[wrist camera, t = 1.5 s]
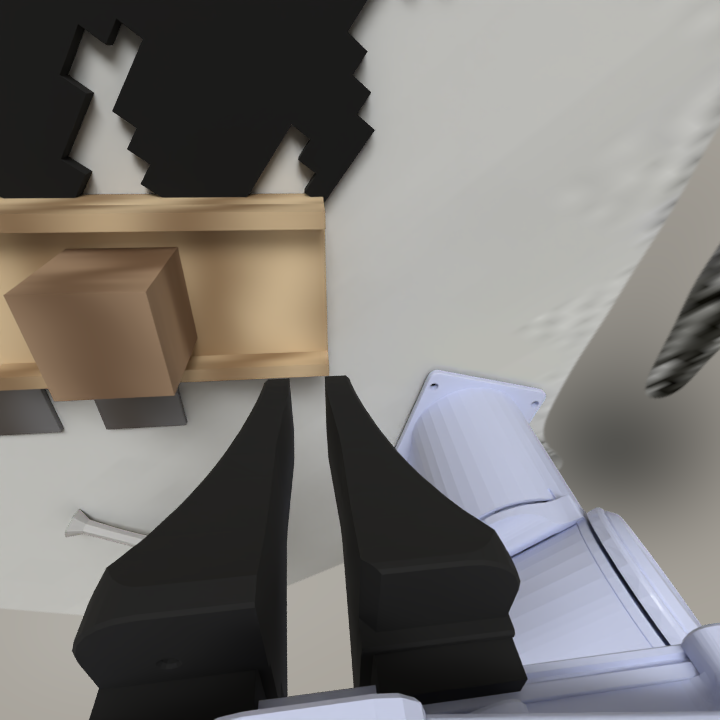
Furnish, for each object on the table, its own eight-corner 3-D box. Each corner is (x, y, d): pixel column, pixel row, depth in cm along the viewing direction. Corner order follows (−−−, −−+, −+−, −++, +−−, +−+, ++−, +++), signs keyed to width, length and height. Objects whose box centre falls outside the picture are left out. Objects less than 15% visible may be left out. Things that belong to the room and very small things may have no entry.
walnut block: (177, 246, 18) (145, 291, 15) (197, 337, 21) (174, 395, 17) (65, 248, 18) (3, 295, 14) (99, 341, 20) (54, 401, 17)
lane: (322, 193, 20) (326, 221, 16) (328, 413, 27) (332, 466, 23) (-227, 195, 17) (-363, 228, 14) (-58, 434, 25) (-119, 496, 21)
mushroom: (47, 539, 25) (244, 595, 28) (92, 469, 28) (265, 525, 31) (53, 574, 30) (222, 619, 32) (92, 511, 33) (242, 556, 35)
